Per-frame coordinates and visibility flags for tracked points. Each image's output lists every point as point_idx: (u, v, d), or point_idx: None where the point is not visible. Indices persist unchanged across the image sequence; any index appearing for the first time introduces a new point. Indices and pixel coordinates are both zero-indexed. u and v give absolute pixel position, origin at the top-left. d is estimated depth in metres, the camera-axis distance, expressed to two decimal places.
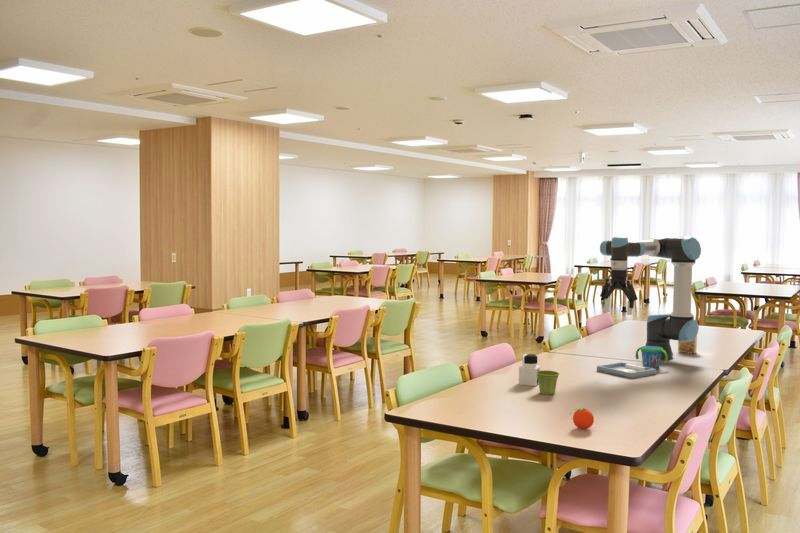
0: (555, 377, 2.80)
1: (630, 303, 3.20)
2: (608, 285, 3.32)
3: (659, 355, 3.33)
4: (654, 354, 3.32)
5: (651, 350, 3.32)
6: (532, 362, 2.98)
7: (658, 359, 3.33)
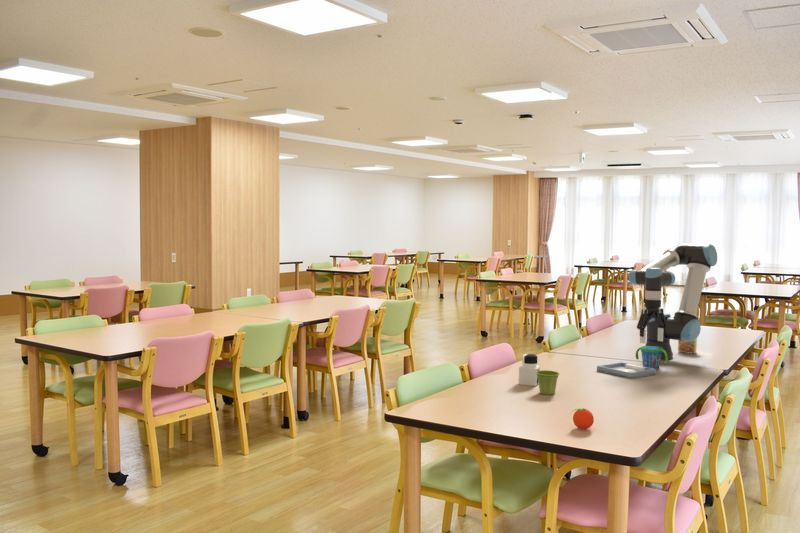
0: (555, 377, 2.80)
1: None
2: (660, 315, 3.39)
3: (659, 355, 3.33)
4: (654, 354, 3.32)
5: (651, 350, 3.32)
6: (532, 362, 2.98)
7: (658, 359, 3.33)
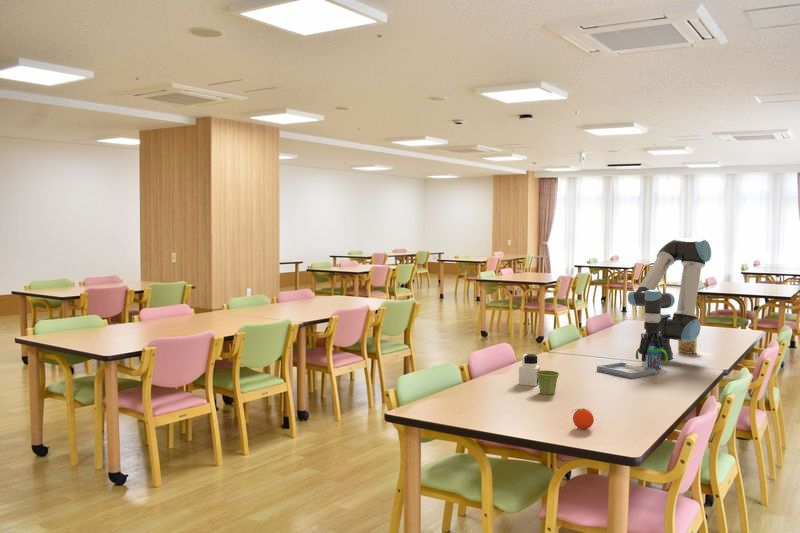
0: (555, 377, 2.80)
1: None
2: (659, 338, 3.40)
3: (659, 355, 3.33)
4: (654, 354, 3.32)
5: (651, 350, 3.32)
6: (532, 362, 2.98)
7: (658, 359, 3.33)
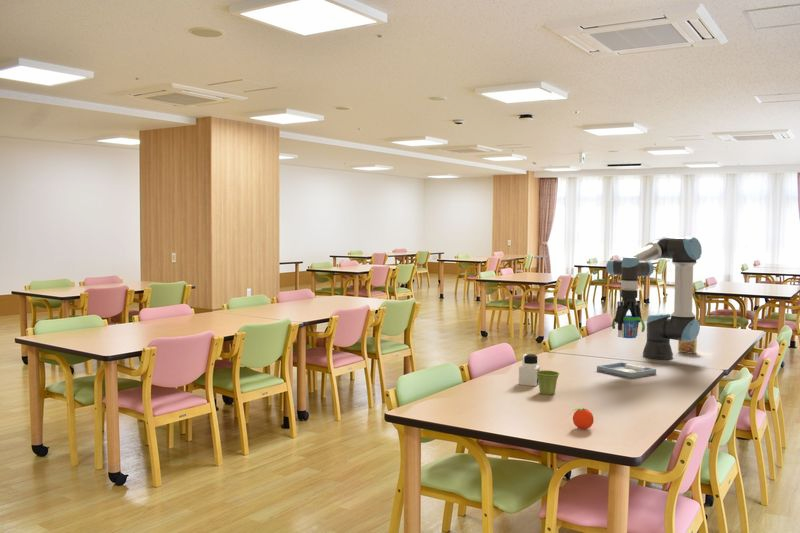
0: (555, 377, 2.80)
1: None
2: (636, 307, 3.28)
3: (636, 324, 3.21)
4: (631, 323, 3.20)
5: (627, 318, 3.20)
6: (532, 362, 2.98)
7: (635, 328, 3.21)
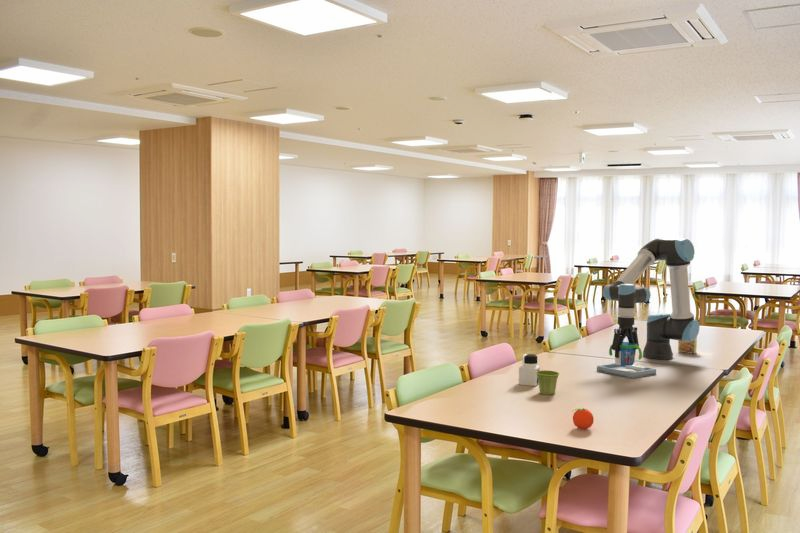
0: (555, 377, 2.80)
1: None
2: (633, 334, 3.27)
3: (633, 351, 3.21)
4: (628, 350, 3.20)
5: (624, 346, 3.20)
6: (532, 362, 2.98)
7: (632, 355, 3.21)
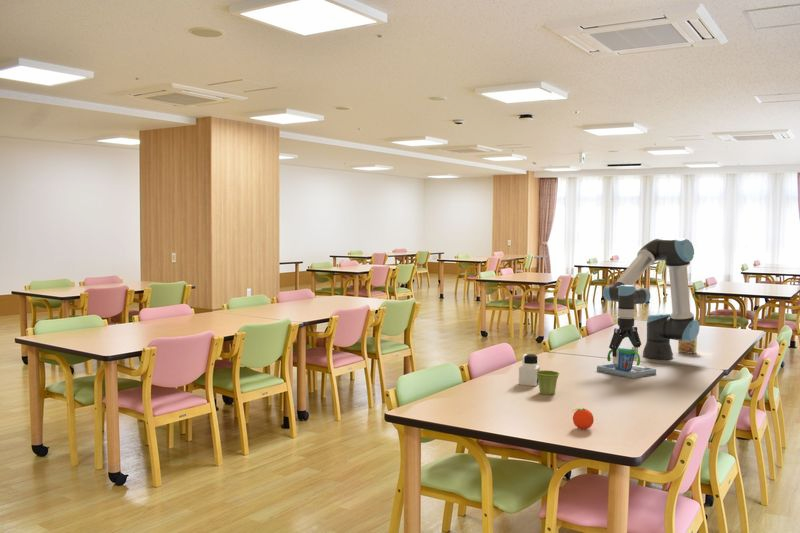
0: (555, 377, 2.80)
1: None
2: (634, 333, 3.28)
3: (631, 357, 3.20)
4: (626, 355, 3.19)
5: (623, 351, 3.19)
6: (532, 362, 2.98)
7: (630, 361, 3.20)
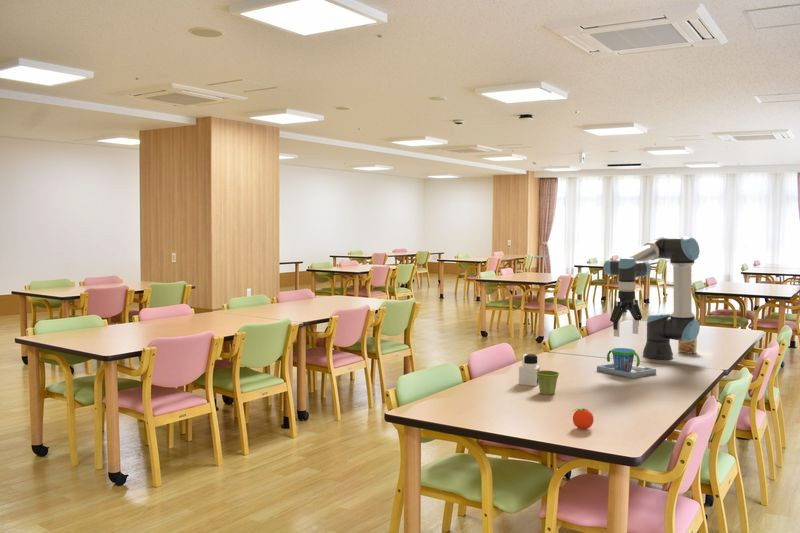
0: (555, 377, 2.80)
1: None
2: (635, 306, 3.27)
3: (631, 358, 3.19)
4: (626, 357, 3.18)
5: (622, 353, 3.18)
6: (532, 362, 2.98)
7: (630, 362, 3.19)
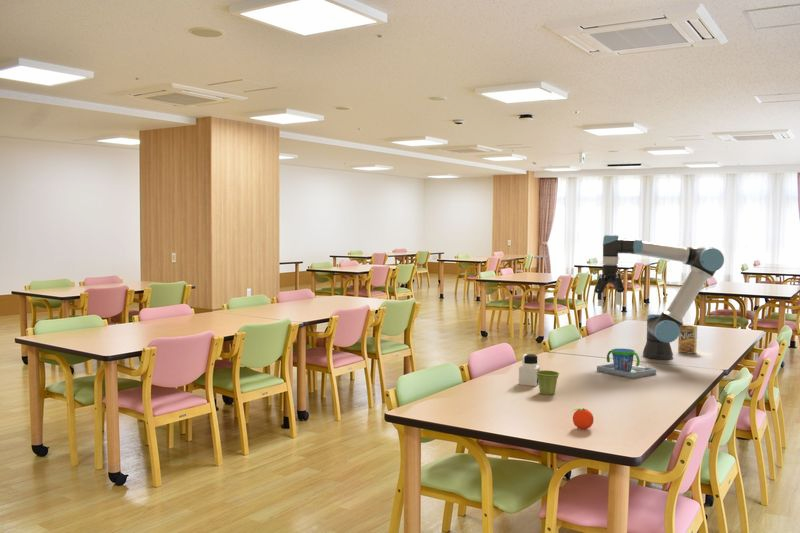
0: (555, 377, 2.80)
1: None
2: (618, 280, 3.58)
3: (630, 358, 3.19)
4: (625, 357, 3.19)
5: (622, 353, 3.18)
6: (532, 362, 2.98)
7: (629, 362, 3.20)
